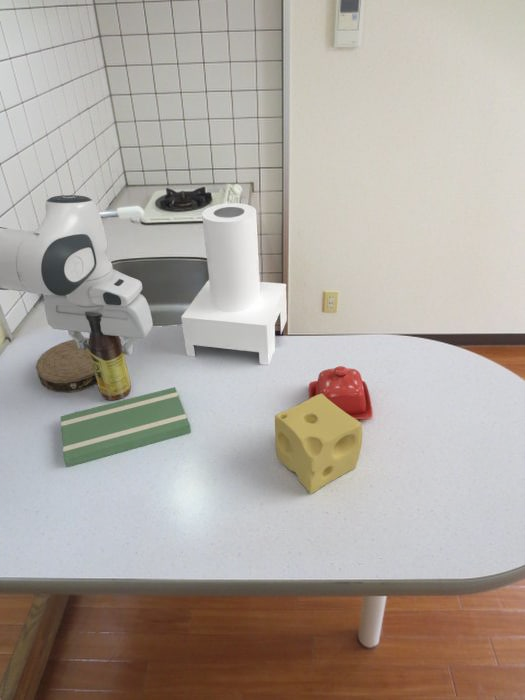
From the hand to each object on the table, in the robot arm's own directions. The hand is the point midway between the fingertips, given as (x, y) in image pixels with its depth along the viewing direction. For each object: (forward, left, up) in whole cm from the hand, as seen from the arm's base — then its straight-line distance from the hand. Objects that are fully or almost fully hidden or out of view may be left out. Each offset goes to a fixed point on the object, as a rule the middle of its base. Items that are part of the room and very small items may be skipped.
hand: (106, 350), depth 101 cm
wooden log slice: (-12, +6, -11) cm, 17 cm away
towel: (+7, -9, -11) cm, 16 cm away
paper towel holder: (+19, +25, -11) cm, 33 cm away
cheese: (+43, -10, -11) cm, 45 cm away
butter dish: (+45, +6, -11) cm, 46 cm away
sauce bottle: (0, 0, -11) cm, 11 cm away
